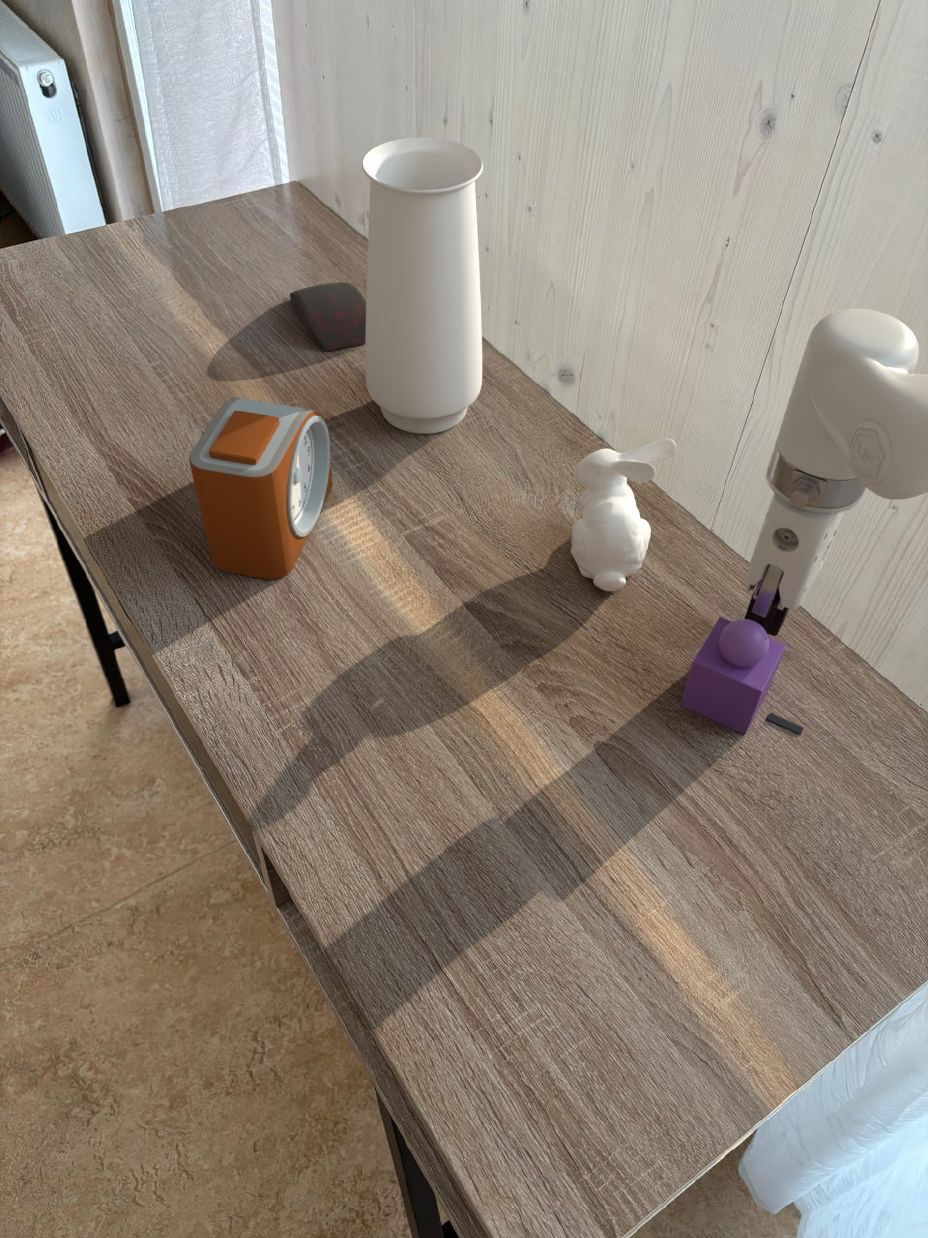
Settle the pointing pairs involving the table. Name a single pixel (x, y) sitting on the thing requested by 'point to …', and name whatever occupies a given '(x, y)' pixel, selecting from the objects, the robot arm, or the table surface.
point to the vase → (423, 283)
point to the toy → (733, 673)
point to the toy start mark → (785, 723)
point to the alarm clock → (261, 484)
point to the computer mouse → (332, 314)
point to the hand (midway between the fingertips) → (762, 624)
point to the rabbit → (613, 513)
